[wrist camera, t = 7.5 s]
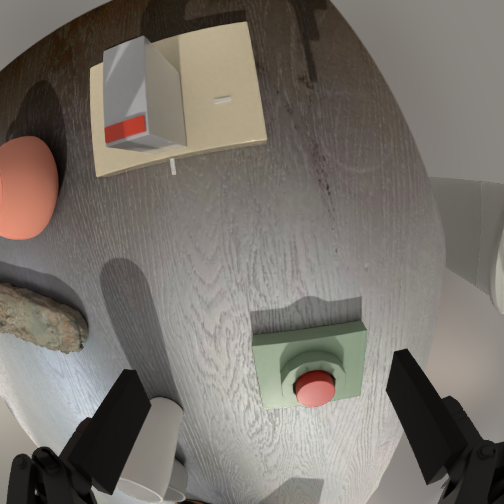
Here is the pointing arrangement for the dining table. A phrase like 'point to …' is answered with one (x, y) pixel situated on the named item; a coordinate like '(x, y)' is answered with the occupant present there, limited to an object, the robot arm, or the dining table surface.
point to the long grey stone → (41, 320)
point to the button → (314, 388)
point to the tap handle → (141, 99)
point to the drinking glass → (153, 453)
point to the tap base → (196, 99)
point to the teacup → (177, 483)
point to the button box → (309, 361)
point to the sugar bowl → (26, 187)
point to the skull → (188, 502)
